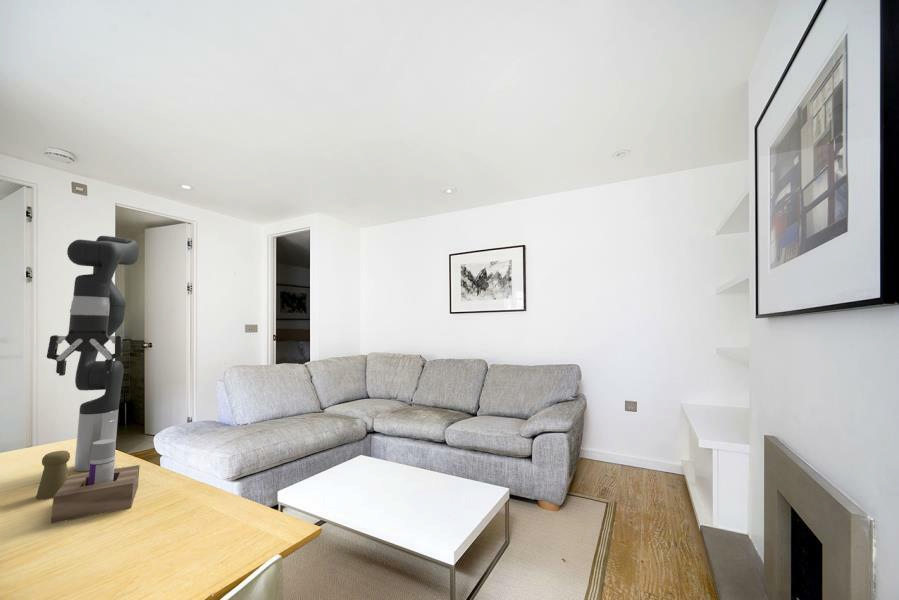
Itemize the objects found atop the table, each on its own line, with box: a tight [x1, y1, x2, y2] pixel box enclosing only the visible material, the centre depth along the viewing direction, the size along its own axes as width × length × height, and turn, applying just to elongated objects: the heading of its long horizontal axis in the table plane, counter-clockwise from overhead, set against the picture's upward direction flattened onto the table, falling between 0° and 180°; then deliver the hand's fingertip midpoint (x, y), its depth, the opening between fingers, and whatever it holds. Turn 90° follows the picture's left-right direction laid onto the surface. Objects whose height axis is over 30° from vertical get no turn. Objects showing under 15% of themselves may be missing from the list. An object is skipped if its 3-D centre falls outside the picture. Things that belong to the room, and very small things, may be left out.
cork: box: [35, 450, 71, 500], centre depth 99 cm, size 6×6×11 cm
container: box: [88, 439, 117, 485], centre depth 94 cm, size 5×5×15 cm
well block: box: [50, 464, 141, 524], centre depth 94 cm, size 14×14×6 cm
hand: (84, 374), depth 98 cm, fingers open, 8 cm apart
